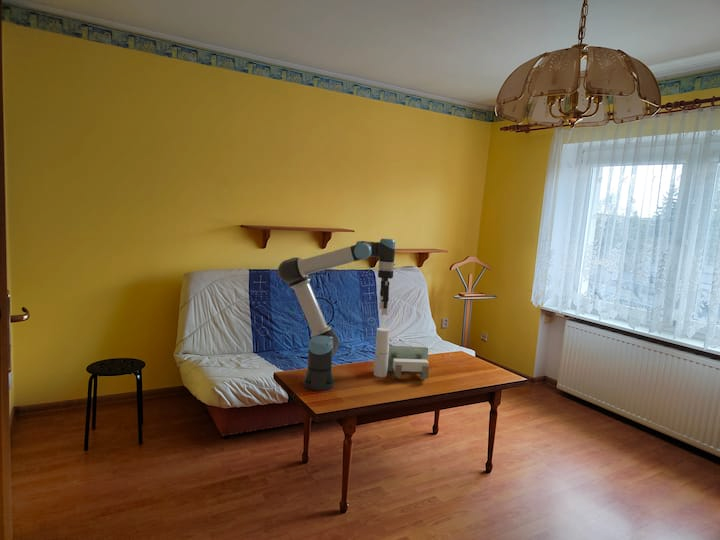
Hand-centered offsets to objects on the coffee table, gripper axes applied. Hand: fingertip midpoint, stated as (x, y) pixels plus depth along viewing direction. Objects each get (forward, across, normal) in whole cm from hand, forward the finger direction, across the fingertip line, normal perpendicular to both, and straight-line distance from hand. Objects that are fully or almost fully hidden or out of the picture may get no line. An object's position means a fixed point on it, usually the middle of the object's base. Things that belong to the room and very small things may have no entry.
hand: (383, 311), depth 233 cm
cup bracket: (+37, +10, -17) cm, 42 cm away
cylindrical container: (+37, +11, -2) cm, 39 cm away
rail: (+32, +7, -17) cm, 37 cm away
